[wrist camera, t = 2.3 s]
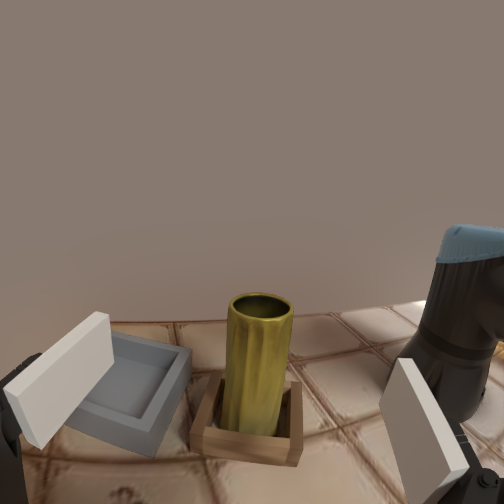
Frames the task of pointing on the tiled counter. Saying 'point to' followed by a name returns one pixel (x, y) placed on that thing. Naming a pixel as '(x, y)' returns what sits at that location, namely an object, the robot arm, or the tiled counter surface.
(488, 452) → the tiled counter surface
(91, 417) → the tray
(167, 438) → the tiled counter surface
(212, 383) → the socket
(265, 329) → the vase
